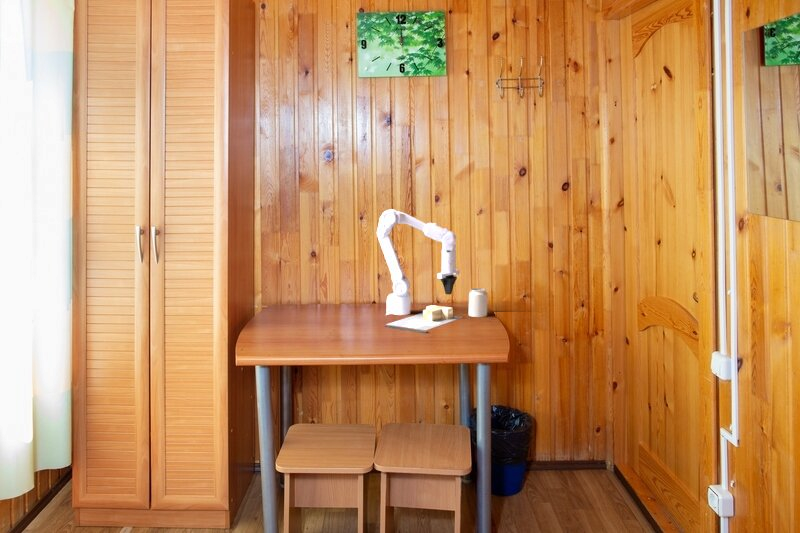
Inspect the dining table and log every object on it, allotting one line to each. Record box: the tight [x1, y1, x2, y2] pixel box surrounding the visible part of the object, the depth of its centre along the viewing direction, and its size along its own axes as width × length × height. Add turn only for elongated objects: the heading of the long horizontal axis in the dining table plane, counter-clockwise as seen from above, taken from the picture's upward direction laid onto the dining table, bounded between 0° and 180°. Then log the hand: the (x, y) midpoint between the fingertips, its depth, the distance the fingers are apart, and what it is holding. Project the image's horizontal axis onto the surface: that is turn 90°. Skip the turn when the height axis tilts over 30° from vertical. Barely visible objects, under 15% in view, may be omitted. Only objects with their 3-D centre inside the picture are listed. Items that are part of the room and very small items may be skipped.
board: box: [385, 312, 463, 334], centre depth 259 cm, size 18×28×1 cm, turn 146°
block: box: [422, 304, 454, 322], centre depth 263 cm, size 10×11×4 cm
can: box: [468, 287, 488, 318], centre depth 269 cm, size 8×8×12 cm
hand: (448, 294), depth 271 cm, fingers closed
